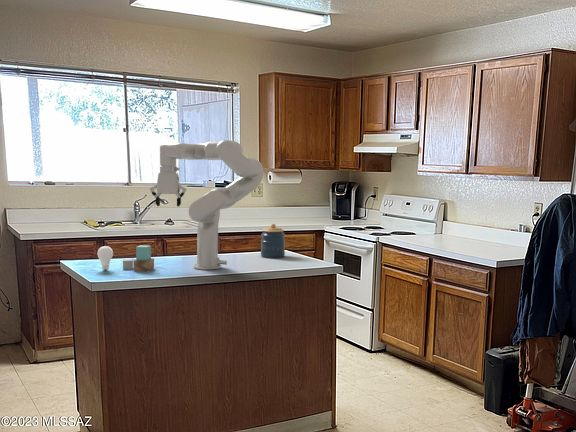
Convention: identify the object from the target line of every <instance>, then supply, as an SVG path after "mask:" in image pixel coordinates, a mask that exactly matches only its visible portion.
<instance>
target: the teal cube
mask: <svg viewBox="0 0 576 432" xmlns="http://www.w3.org/2000/svg"><path fill="white" fill-rule="evenodd" d="M135 255H136V256H135V257H136V258H135V260H149V259H151V258H152V245H149V244H148V245H146V244H145V245H144V244H143V245H141V244H140V245H138V246H136V247H135Z"/></svg>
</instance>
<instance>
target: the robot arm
mask: <svg viewBox="0 0 576 432" xmlns="http://www.w3.org/2000/svg"><path fill="white" fill-rule="evenodd" d="M243 151H244V149H243V146H242V145H241V143H239V142H238V141H236V140H229V139H225V140H221V141H218V140H217V141H215V140H214V141H213V140H211V141H207V142H205V143H187V142H186V143H185V142H184V143H183V142H176V143H175V142H174V143H162V144H160V146H159V172H158V175H157V182H156V185H154V186H151V187H150V188H149V191H150V193H151V194H152V196H154V198H155V205H156V207H160V206H161V197H160V196H161V194H162V195H175V196H176V197H177V198H176V207H180V206H181V205H182V197H183V196H184V195H185V194H186V192H187V189H188V188H186V187H184V186H182V185H180V177H179V172H178V171H180V167H178V166H177V160H187V161H190V160H193V161H194V160H196V161H198V160H203V161H204V160H206V161H222V162H223V163H224V164H225V165H226V166H227V167H228V168H229V169H230V170H231V171H232V172H233V173H234V174H236V176H239V177H238V178H237V179H235V180H233V181H232V182H231V183H229V184H228V185H226V186H224V187H217V188H213V189H211V190H209V191H208V192H205V194H203V195H202V196H201V197H199V198H197V199H196V200H195V201H194V202H192V203H191V204H190V206H189V208H188V215H189V216H188V217H189V218H190V219H191V220H192V221H193V222H196V223H198V224H197V230H196V231H197V236H196V237H197V238H196V239H197V240H196V241H197V243H196V246H197V247H196V248H197V250H196V251H197V252H196V255H197V257H196V258H197V260H196V263H195V264H194V265H193V269H196V270H202V271H203V270H204V271H207V270H217V269H221V268H222V265H225V266H226V265H228V261H227V260H225V259H220V256H219V221H220V217H221V216H220V215H221V210H225V209H230V208H231V207H232V206H234V205H235V204H236V203H238V202H240V201H241V200H242V199H244V198H245V197H247V196H248V195H249V194H250V193H252V192H253V191H255V190H256V189H257V188H258V187H259V186H260V185H261V183H262V181H263V178H264V167H263V164H262V162H261V161H259V160H258V159H256V158H252V157H251V158H250V157H246V156H245V155H244V154H243ZM155 189H156V192H155ZM181 190H182V191H181Z"/></svg>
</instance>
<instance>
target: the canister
mask: <svg viewBox="0 0 576 432" xmlns="http://www.w3.org/2000/svg"><path fill="white" fill-rule="evenodd" d="M262 231H263V232H262V233H261V234H260V236H261V240H260V256H261V257H262V258H267V259H280V258H281V259H282V258H284V257H285V255H286V254H285V253H286V252H285V249H286V248H285V247H286V245H285V244H286V239H285V236H286V234H285V233H284V231H285V230H284V229H282V227H277V226H276V224H275V223H271V224H270V227H269V226H268V227H265V228H263V229H262Z"/></svg>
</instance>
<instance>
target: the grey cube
mask: <svg viewBox="0 0 576 432" xmlns="http://www.w3.org/2000/svg"><path fill="white" fill-rule="evenodd" d="M122 270H134V259H133V258H130V259H129V258H127V259H123V260H122Z"/></svg>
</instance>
